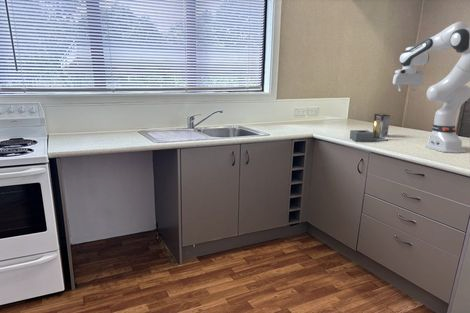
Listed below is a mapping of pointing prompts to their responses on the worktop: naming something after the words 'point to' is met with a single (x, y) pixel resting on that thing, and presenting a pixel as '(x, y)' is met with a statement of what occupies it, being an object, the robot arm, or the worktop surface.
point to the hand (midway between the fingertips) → (406, 91)
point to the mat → (380, 139)
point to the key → (376, 129)
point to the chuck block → (361, 135)
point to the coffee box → (382, 124)
